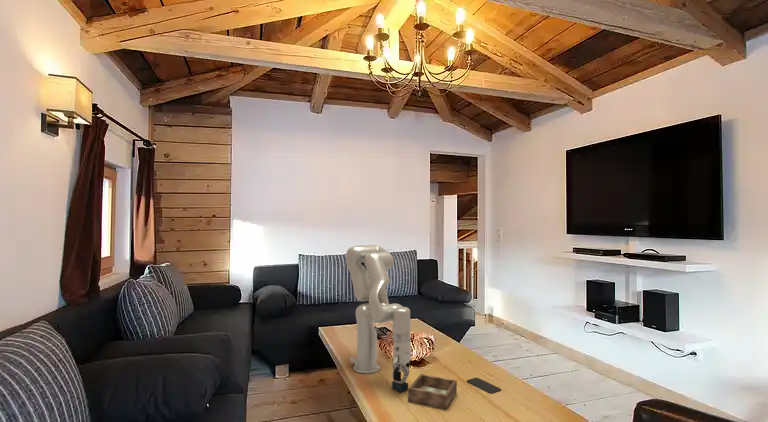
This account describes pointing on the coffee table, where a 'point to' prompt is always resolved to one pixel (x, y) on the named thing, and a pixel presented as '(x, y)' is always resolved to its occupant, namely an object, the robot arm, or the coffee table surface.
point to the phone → (483, 385)
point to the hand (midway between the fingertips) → (401, 376)
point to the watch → (401, 385)
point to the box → (432, 391)
